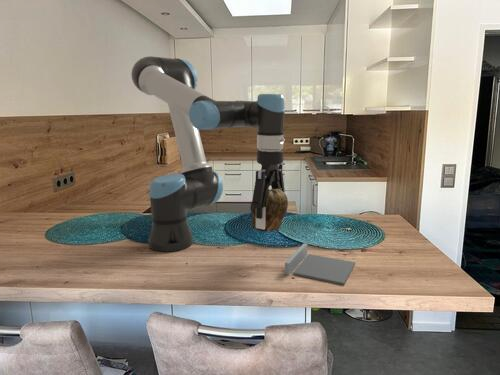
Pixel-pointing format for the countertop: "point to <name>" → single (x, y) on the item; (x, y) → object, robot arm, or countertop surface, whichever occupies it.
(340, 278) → the pad
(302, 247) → the acrylic wall
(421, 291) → the countertop surface
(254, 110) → the robot arm
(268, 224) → the brown rounded lump
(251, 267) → the countertop surface
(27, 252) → the countertop surface
